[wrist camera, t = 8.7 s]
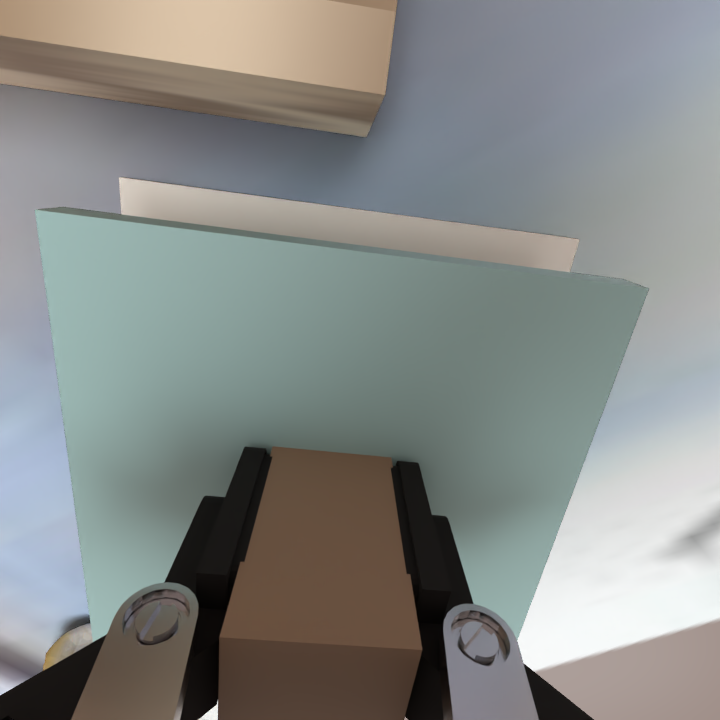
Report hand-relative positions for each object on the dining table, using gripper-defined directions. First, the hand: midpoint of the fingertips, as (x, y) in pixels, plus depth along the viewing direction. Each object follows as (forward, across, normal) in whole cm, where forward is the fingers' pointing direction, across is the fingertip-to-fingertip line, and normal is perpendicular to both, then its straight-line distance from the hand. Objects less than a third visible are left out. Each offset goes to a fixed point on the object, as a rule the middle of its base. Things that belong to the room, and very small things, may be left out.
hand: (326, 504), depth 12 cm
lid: (+3, 0, 0) cm, 3 cm away
